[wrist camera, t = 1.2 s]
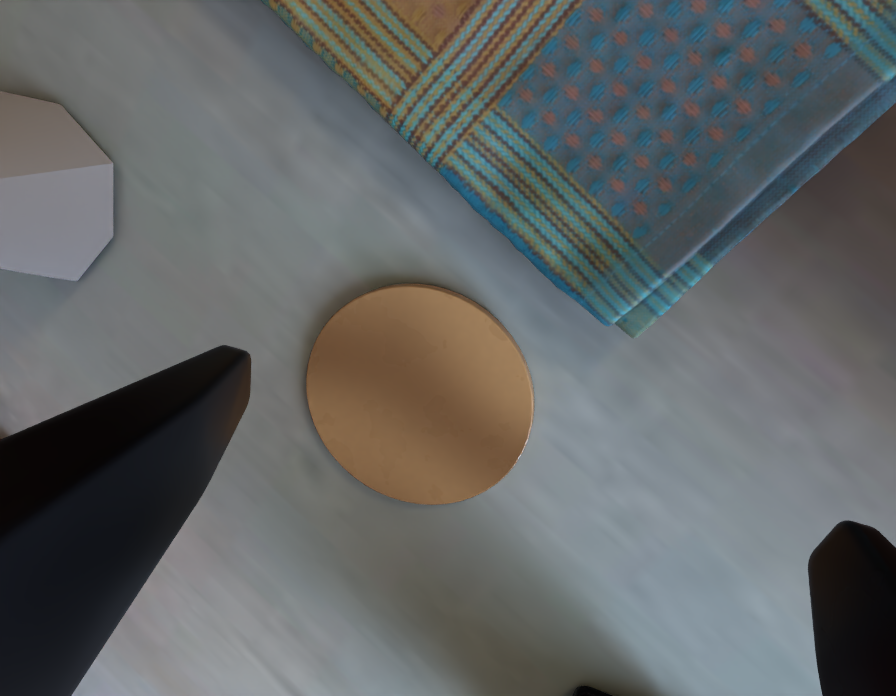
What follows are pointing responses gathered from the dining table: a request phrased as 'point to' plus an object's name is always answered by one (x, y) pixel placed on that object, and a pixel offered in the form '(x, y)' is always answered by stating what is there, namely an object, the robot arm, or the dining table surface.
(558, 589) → the dining table surface
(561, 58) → the dish towel
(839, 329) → the dining table surface
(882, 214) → the dining table surface
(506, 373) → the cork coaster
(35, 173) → the flask
